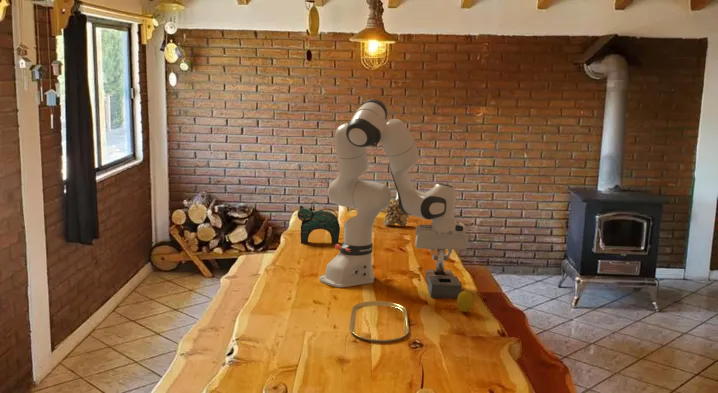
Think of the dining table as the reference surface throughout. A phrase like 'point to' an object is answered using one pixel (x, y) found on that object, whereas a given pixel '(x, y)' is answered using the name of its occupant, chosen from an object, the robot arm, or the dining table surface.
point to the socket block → (432, 273)
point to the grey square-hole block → (444, 286)
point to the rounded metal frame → (377, 303)
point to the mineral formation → (395, 214)
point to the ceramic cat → (318, 223)
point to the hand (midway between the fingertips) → (440, 259)
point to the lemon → (465, 301)
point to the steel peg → (440, 262)
